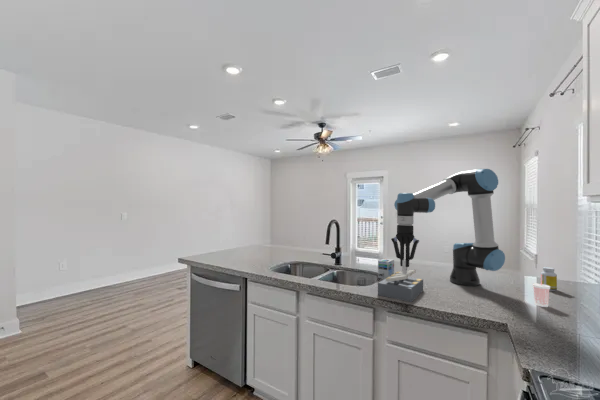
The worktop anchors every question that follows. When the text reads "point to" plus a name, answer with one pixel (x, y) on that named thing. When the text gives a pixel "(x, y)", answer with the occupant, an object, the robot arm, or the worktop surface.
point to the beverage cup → (541, 294)
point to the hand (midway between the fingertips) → (404, 273)
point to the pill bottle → (549, 278)
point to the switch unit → (401, 288)
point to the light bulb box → (385, 268)
